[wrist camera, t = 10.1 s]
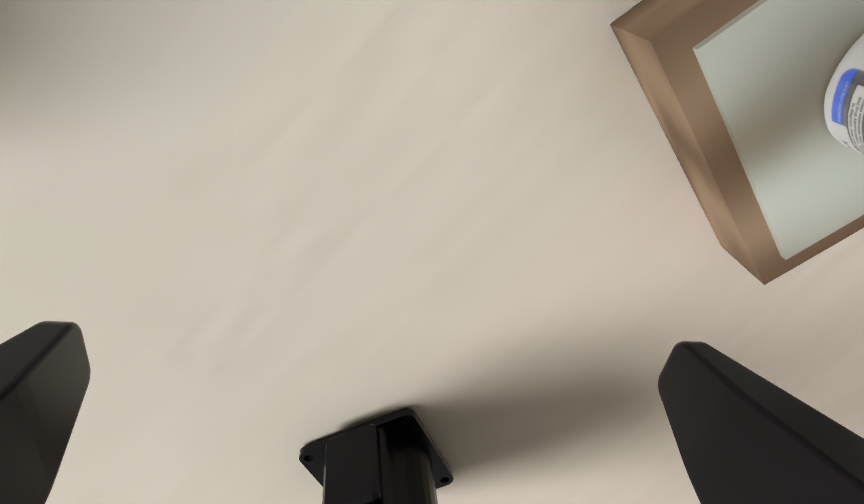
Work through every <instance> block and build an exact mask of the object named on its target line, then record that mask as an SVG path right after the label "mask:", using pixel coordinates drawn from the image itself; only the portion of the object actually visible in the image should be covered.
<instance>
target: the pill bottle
mask: <svg viewBox="0 0 864 504" xmlns="http://www.w3.org/2000/svg"><path fill="white" fill-rule="evenodd" d="M824 115H825V121H826V124H827V127H828V130H829V131H830V133H831V134H832V136H833V137H834V138H835V139H836V140H838V141H839V142H840V143H842V144H843V145H845V146H847V147H849V148H851V149H853V150H855V151H857V152H859V153H861V154H863V155H864V34H863V35H862V36H861V37H860V38H859V39H858V40H857V41H856V42H855V43H854V44H853V45H852V47H851V48H850V49H849V51H848V52H847V53H846V54H845V56H844V57H843V59H842V60H841V62H840V63H839V65H838V66H837V68H836V70H835V72H834V74H833V76H832V78H831V80H830V82H829V85H828V88H827V90H826V94H825V100H824Z"/></svg>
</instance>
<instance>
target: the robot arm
mask: <svg viewBox="0 0 864 504" xmlns="http://www.w3.org/2000/svg"><path fill="white" fill-rule="evenodd" d="M89 380H90V364H89V360H88V356H87V352H86V347H85V343H84V339H83V335H82V331H81V329H80V327H79V326H78V325H77V324H76V323H74V322H60V321H44V322H40V323H38V324H36V325H34V326H32V327H30V328H29V329H27V330H25V331H23V332H22V333H20V334H18V335H16V336H14V337H13V338H11V339H9V340H7V341H5V342H4V343H2V344H0V504H45V502H46V500H47V498H48V496H49V494H50V491H51V489H52V486H53V484H54V481H55V479H56V476H57V473H58V471H59V468H60V465H61V462H62V459H63V456H64V453H65V450H66V448H67V445H68V442H69V439H70V436H71V433H72V430H73V427H74V425H75V422H76V419H77V416H78V413H79V410H80V407H81V404H82V402H83V399H84V396H85V393H86V390H87V387H88V384H89ZM658 389H659V393H660V396H661V399H662V402H663V405H664V408H665V411H666V413H667V416H668V419H669V422H670V425H671V428H672V431H673V434H674V437H675V439H676V442H677V445H678V448H679V451H680V454H681V457H682V460H683V462H684V465H685V468H686V470H687V473H688V476H689V478H690V480H691V483H692V485H693V487H694V490H695V492H696V494H697V496H698V499H699V501H700V503H701V504H864V439H863V438H862V437H860V436H858V435H857V434H855V433H854V432H852V431H850V430H849V429H847V428H845V427H844V426H842V425H840V424H839V423H837V422H835V421H834V420H832V419H830V418H829V417H827V416H825V415H824V414H822V413H820V412H819V411H817V410H815V409H814V408H812V407H810V406H809V405H807V404H805V403H804V402H802V401H801V400H799V399H797V398H796V397H794V396H792V395H791V394H789V393H787V392H786V391H784V390H782V389H781V388H779V387H777V386H776V385H774V384H772V383H771V382H769V381H767V380H766V379H764V378H762V377H761V376H759V375H757V374H756V373H754V372H752V371H751V370H749V369H748V368H746V367H744V366H743V365H741V364H739V363H738V362H736V361H734V360H733V359H731V358H729V357H728V356H726V355H724V354H723V353H721V352H719V351H718V350H716V349H714V348H713V347H711V346H709V345H708V344H706V343H703V342H691V341H682V342H679V343H677V344H676V345H675V346H674V348H673V350H672V352H671V354H670V356H669V358H668V360H667V362H666V364H665V366H664V368H663V370H662V372H661V374H660V376H659V380H658ZM407 418H408V419H407ZM299 460H300V462H301V463H302V464H303V465H304V466H305V467H306V468H307V470H308V471H309V472H310V473H311V474H312V475H313V476H314V477H315V479H316V480H317V481H318V482H319V483H320V484H321V485H322V486H323V502H322V504H438V502H437V495H436V489H437V488H440V487H443V486H446V485H448V484H450V483H451V482H452V481H453V475H452V471H451V469H450V467H449V466H448V464H447V463H446V461H445V460H444V458H443V456H442V455H441V453H440V452H439V450H438V448H437V447H436V445H435V444H434V442H433V440H432V439H431V437H430V436H429V434H428V433H427V431H426V429H425V428H424V426H423V425H422V423H421V421H420V420H419V418H418V417H417V415H416V413H415V412H414V411H413V410H410V409H404V410H400V411H398V412H395V413H392V414H390V415H387V416H384V417H382V418H379V419H376V420H374V421H371V422H368V423H366V424H363V425H360V426H358V427H355V428H352V429H350V430H347V431H344V432H342V433H339V434H336V435H334V436H331V437H328V438H326V439H323V440H320V441H318V442H315V443H312V444H310V445H307V446H304V447H303V448H301V450H300V455H299Z"/></svg>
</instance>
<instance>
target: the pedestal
mask: <svg viewBox="0 0 864 504" xmlns="http://www.w3.org/2000/svg"><path fill="white" fill-rule="evenodd" d="M610 25H611V27H612V29H613V31H614V33H615V35H616V37H617V39H618V41H619V43H620V45H621V47H622V49H623V51H624V53H625V55H626V57H627V59H628V61H629V63H630V65H631V67H632V69H633V71H634V73H635V75H636V77H637V79H638V81H639V83H640V85H641V87H642V89H643V91H644V93H645V95H646V97H647V99H648V101H649V103H650V105H651V107H652V109H653V111H654V113H655V115H656V117H657V119H658V121H659V123H660V125H661V127H662V129H663V131H664V133H665V135H666V137H667V139H668V140H669V142H670V144H671V146H672V148H673V150H674V152H675V154H676V156H677V158H678V160H679V162H680V164H681V166H682V168H683V170H684V172H685V174H686V176H687V178H688V180H689V182H690V184H691V186H692V188H693V190H694V192H695V194H696V196H697V198H698V200H699V202H700V204H701V206H702V208H703V210H704V212H705V214H706V216H707V218H708V220H709V222H710V224H711V226H712V228H713V230H714V232H715V234H716V236H717V238H718V240H719V242H720V244H721V246H722V247H723V248H724V249H725V250H726V251H727V252H728V253H729V254H730V255H731V256H733V257H734V258H735V259H736V260H737V261H738V262H739V263H740V264H741V265H743V266H744V267H745V268H746V269H747V270H748V271H749V272H750V273H752V274H753V275H754V276H755V277H756V278H757V279H758V280H759V281H760V282H762V283H763V284H764V285H765V284H767V283H769V282H770V281H772V280H774V279H776V278H777V277H779V276H781V275H782V274H784V273H786V272H788V271H789V270H791V269H793V268H795V267H796V266H798V265H800V264H802V263H803V262H805V261H807V260H808V259H810V258H812V257H814V256H815V255H817V254H819V253H821V252H822V251H824V250H826V249H828V248H829V247H831V246H833V245H834V244H836V243H838V242H840V241H841V240H843V239H845V238H847V237H848V236H850V235H852V234H854V233H855V232H857V231H859V230H860V229H862V228H864V155H863V154H861V153H859V152H857V151H855V150H853V149H851V148H849V147H847V146H845V145H843V144H842V143H840V142H839V141H838V140H836V139H835V138H834V137H833V136H832V134H831V133H830V131H829V130H828V127H827V124H826V121H825V115H824V100H825V94H826V90H827V88H828V85H829V82H830V80H831V78H832V76H833V74H834V72H835V70H836V68H837V66H838V65H839V63H840V62H841V60H842V59H843V57H844V56H845V54H846V53H847V52H848V51H849V49H850V48H851V47H852V45H853V44H854V43H855V42H856V41H857V40H858V39H859V38H860V37H861V36H862V35H863V34H864V0H642V1H641V2H640V3H638V4H637V5H636V6H634V7H633V8H632V9H630V10H629V11H628V12H626V13H625V14H624V15H622V16H621V17H620V18H618V19H617V20H616V21H614V22H613V23H612V24H610Z"/></svg>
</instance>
